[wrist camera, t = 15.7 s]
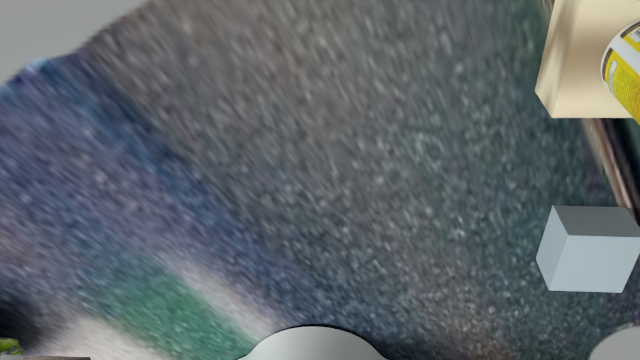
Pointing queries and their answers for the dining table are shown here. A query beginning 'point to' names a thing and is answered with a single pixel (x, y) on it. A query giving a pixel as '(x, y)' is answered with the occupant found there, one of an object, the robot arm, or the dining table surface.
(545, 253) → the greyblue block
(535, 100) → the dining table surface
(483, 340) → the dining table surface
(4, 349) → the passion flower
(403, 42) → the dining table surface
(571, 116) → the beech block
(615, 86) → the supplement bottle
